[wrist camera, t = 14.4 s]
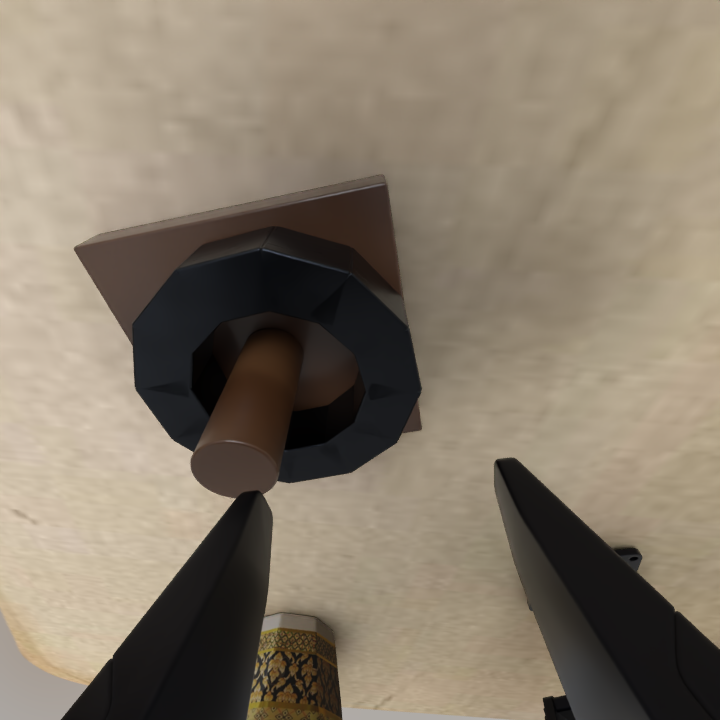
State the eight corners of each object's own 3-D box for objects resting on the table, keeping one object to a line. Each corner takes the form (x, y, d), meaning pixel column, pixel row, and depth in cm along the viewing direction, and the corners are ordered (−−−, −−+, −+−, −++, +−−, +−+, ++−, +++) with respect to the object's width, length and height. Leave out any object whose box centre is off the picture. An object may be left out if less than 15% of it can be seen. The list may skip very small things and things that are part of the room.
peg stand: (418, 408, 18) (446, 557, 12) (213, 438, 19) (148, 588, 13) (384, 173, 12) (406, 239, 6) (97, 234, 13) (-103, 337, 8)
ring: (427, 419, 16) (436, 459, 14) (228, 455, 17) (213, 497, 16) (381, 196, 11) (386, 215, 9) (109, 268, 12) (66, 297, 11)
